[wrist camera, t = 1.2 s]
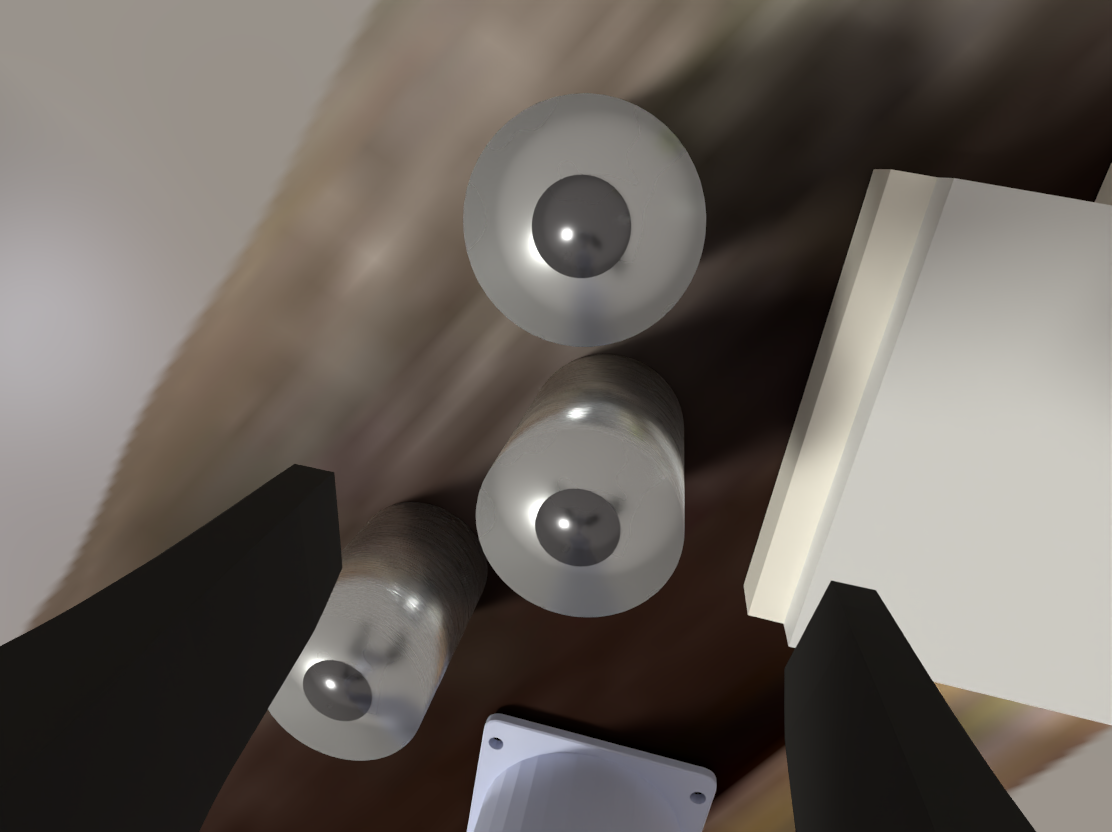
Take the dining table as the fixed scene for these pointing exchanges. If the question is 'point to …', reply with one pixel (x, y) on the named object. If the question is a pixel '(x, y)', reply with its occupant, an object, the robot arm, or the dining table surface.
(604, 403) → the cylinder
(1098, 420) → the scale
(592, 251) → the cylinder
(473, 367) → the dining table surface
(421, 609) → the cylinder
